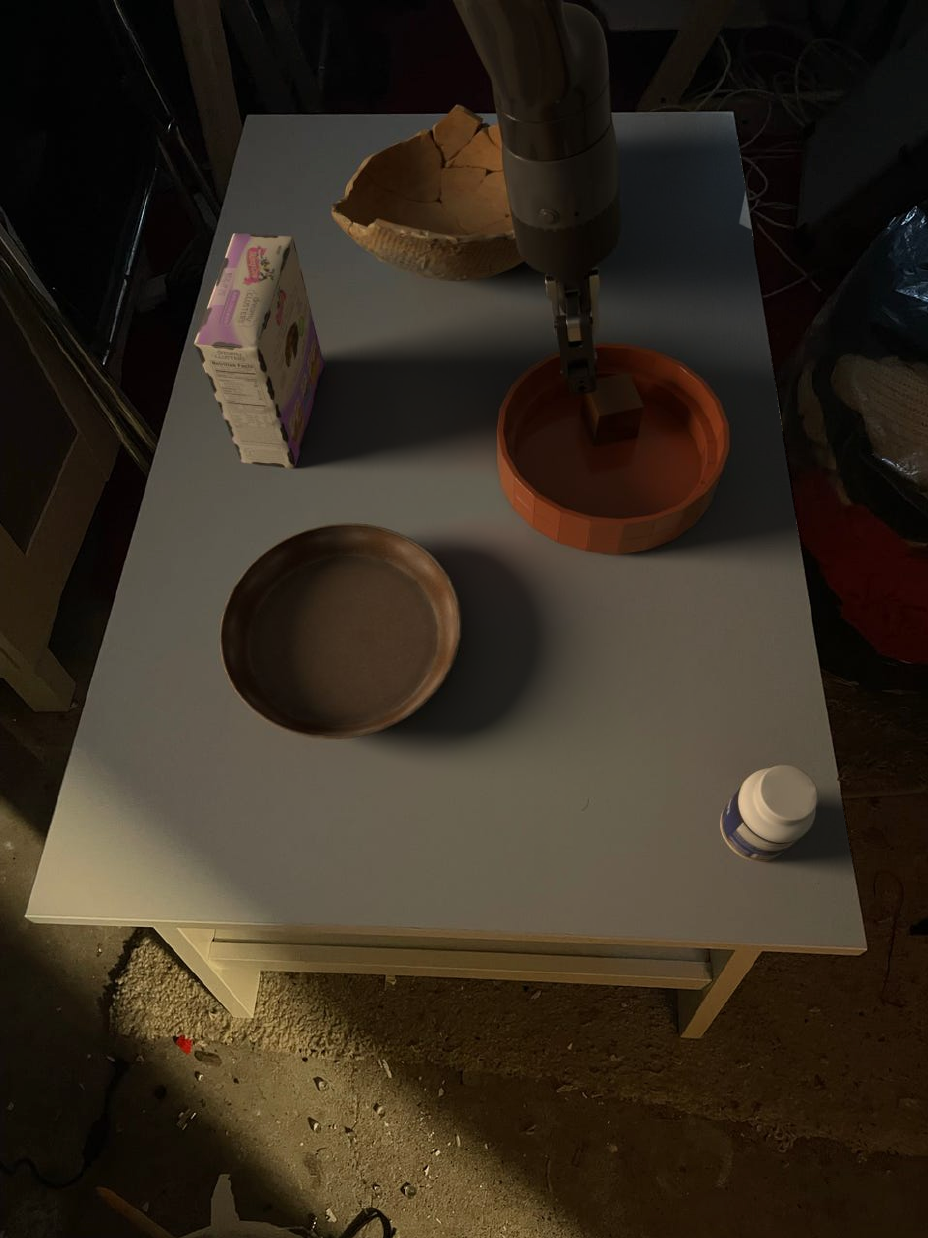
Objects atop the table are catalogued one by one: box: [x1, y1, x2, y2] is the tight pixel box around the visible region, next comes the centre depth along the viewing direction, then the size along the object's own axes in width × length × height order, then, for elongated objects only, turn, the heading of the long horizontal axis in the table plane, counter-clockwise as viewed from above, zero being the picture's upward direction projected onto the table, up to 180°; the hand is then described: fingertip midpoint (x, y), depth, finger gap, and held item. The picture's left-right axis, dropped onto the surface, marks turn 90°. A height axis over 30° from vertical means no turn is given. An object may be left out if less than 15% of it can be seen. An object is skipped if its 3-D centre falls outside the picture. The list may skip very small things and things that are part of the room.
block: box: [581, 372, 644, 446], centre depth 87 cm, size 4×4×4 cm
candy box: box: [193, 232, 325, 469], centre depth 84 cm, size 14×6×16 cm, turn 172°
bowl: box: [496, 342, 731, 555], centre depth 85 cm, size 21×21×6 cm
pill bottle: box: [719, 764, 819, 862], centre depth 66 cm, size 5×5×10 cm
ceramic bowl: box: [331, 104, 525, 282], centre depth 97 cm, size 30×27×15 cm
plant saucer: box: [219, 522, 462, 740], centre depth 77 cm, size 21×21×3 cm
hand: (581, 349), depth 74 cm, fingers open, 8 cm apart
